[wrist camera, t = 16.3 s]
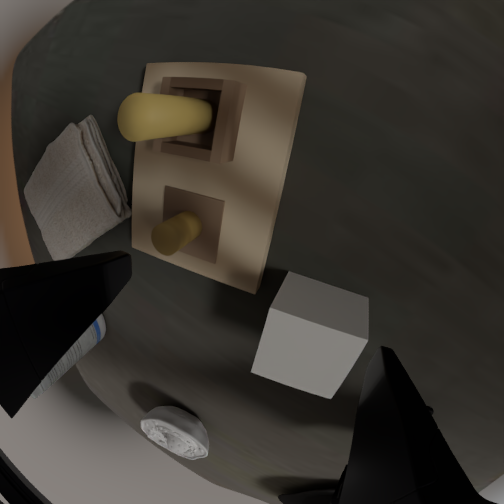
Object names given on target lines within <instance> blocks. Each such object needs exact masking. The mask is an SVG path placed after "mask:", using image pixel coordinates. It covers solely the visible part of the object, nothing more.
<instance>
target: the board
mask: <svg viewBox="0 0 504 504" xmlns="http://www.w3.org/2000/svg"><path fill="white" fill-rule="evenodd" d="M306 78H307V77H306V75H305V74H304V73H300V72H294V71H288V70H282V69H275V68H268V67H260V66H250V65H240V64H226V63H204V62H168V63H147V66H146V72H145V77H144V83H143V89H142V93H151V94H163V95H174V96H183V97H192V98H199V99H207V100H211V101H213V102H214V103H215V104H216V105H217V107H218V114H217V120H216V126H215V129H214V130H212V131H211V132H208V133H203V134H191V135H182V136H173V137H165V138H157V139H150V140H143V141H136V146H135V158H134V173H133V193H132V247H133V248H135V249H138V250H140V251H143V252H145V253H148V254H150V255H153V256H155V257H157V258H160V259H162V260H165V261H168V262H170V263H173V264H175V265H178V266H180V267H183V268H185V269H188V270H190V271H193V272H196V273H198V274H201V275H204V276H206V277H209V278H211V279H214V280H217V281H219V282H222V283H225V284H227V285H230V286H233V287H236V288H238V289H241V290H244V291H247V292H249V293H252V294H256V292H257V291H258V289H259V288H260V285H261V280H262V276H263V272H264V268H265V263H266V259H267V255H268V251H269V246H270V242H271V238H272V233H273V229H274V225H275V220H276V216H277V212H278V207H279V203H280V198H281V194H282V189H283V185H284V180H285V176H286V171H287V167H288V162H289V158H290V153H291V149H292V144H293V139H294V135H295V130H296V125H297V121H298V116H299V111H300V107H301V102H302V97H303V92H304V87H305V83H306Z"/></svg>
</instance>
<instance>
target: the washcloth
mask: <svg viewBox="0 0 504 504" xmlns="http://www.w3.org/2000/svg"><path fill="white" fill-rule="evenodd" d="M24 195H25V199H26V201H27V203H28V206H29V209H30V211H31V213H32V215H33V216H34V218H35V220H36V222H37V224H38V226H39V228H40V229H41V232H42V237H43V240H44V242H45V244H46V246H47V248H48V251H49V252H50V254H51V256H52V259H53V260H54V261H56V260H62V259H69V258H72V257H74V256H75V254H77V253H78V252H80V251H81V250H82V249H84V248H85V247H87V246H89V245H90V244H91V243H92V242H93V241H94V240H95V239H97V238H99V237H100V236H101V235H103V234H104V233H105V232H107V231H108V230H110V229H112V228H114V227H115V226H116V225H118V224H119V223H120V222H121V223H122V222H123V220H125V219H126V218H129V217H130V216H131V215H132V209H130V208H129V206H128V205H127V201H128V199H127V196H126V190H125V188H124V184H123V182H122V180H121V178H120V175H119V173H118V171H117V168H116V167H115V165H114V163H113V161H112V159H111V157H110V154H109V152H108V149H107V146H106V144H105V141H104V139H103V137H102V134H101V131H100V129H99V127H98V124H97V122H96V120H95V119H94V117H93V116H92V115H89V116H88V117H87V118H85V119H84V120H83V121H81V122H80V123H78V125H77V124H76V125H75V124H74V123H70V124H69V125H68V126H67V127H66V128H65V130H64V131H63V132H62V133H61V134H60V136H58V137H57V138H56V139H55V140H54V141H53V142H52V143H50V144H49V145H48V146H47V148H46V151H45V153H44V155H43V156H42V158H41V160H40V162H39V163H38V164H37V166H36V167H35V170H34V171H33V173H32V175H31V178H30V179H29V181H28V183H27V184H26V186H25V188H24Z"/></svg>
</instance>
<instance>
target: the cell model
mask: <svg viewBox="0 0 504 504" xmlns="http://www.w3.org/2000/svg"><path fill="white" fill-rule="evenodd" d="M140 425H141V429H142V430H143V431H144V432H145V433H146V434H147V436H148V438H150V439H152V440H153V441H155V442H156V443H157V444H159V445H160V446H162V447H164V448H166V449H168V450H169V451H171V452H173V453H175V454H177V455H179V456H182V457H184V458H187V459H191V460H195V459H197V458H204V457H206V456H207V455H208V450H209V440H208V436H207V432H206V429H205V427H204V426H203V424H202V422H201V421H200V420H199V419H198V418H197V417H195V416H194V415H192V414H190V413H188V412H187V411H185V410H182V409H180V408H178V407H174V406H158V407H155V408H153V409H152V410H151V411H149V412H148V413H147V414H146V415H145V416H144V417H143V419H142V420H141V421H140Z"/></svg>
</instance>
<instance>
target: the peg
mask: <svg viewBox="0 0 504 504" xmlns="http://www.w3.org/2000/svg"><path fill="white" fill-rule="evenodd" d="M217 114H218V107H217V105H216V104H215V103H214V102H213V101H211V100H207V99H199V98H192V97H183V96H174V95H163V94H151V93H134V94H131V95H129V96H128V97H127V98H126V99H125V100H124V101H123V102H122V104H121V106H120V108H119V112H118V119H117V120H118V127H119V130H120V132H121V134H122V135H123V136H124V138H126V139H127V140H129V141H133V142H136V141H143V140H150V139H157V138H165V137H173V136H182V135H191V134H203V133H208V132H211V131H212V130H214V129H215V126H216V120H217Z"/></svg>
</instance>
